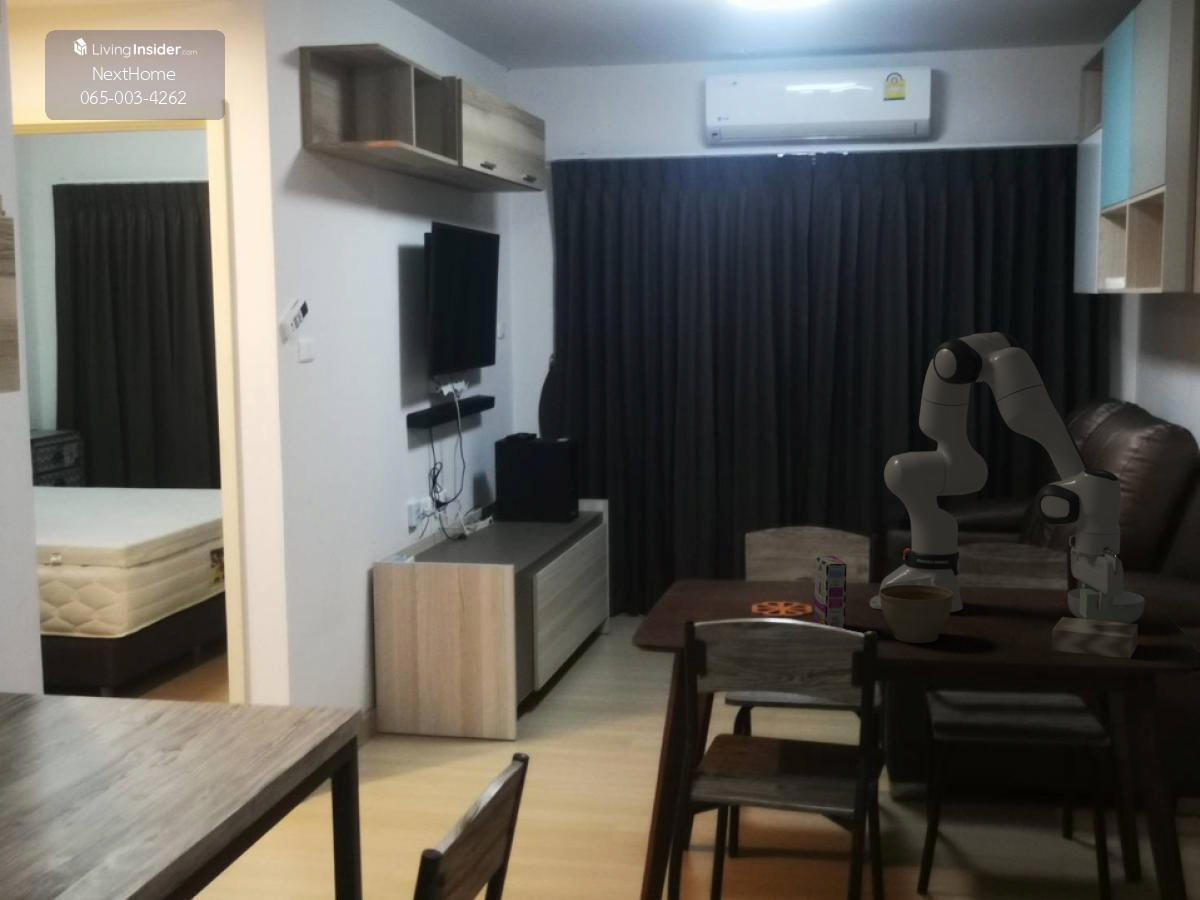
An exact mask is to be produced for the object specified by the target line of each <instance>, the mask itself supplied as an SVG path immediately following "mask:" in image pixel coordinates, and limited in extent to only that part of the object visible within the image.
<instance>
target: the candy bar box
mask: <svg viewBox="0 0 1200 900" xmlns="http://www.w3.org/2000/svg"><path fill="white" fill-rule="evenodd" d="M814 563H815V564H814V565H815V567H814V608H813V609H814V614H813V615H814V617H813V618H814V620H813V623H814V622H817V623H821V624H826V625H831V626H836V627H841V628H845V629H846V605H847V603H846V599H847V598H846V596H847V565H848V564H846V563H845V562H844V561H842V560H841V559H839V558H838V557H837V556H834V555H816V556H815V562H814Z"/></svg>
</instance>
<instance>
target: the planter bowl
mask: <svg viewBox="0 0 1200 900" xmlns="http://www.w3.org/2000/svg"><path fill="white" fill-rule="evenodd" d="M879 591H880V597H881V607H882V609H881V612H882V615H883V617H884V620H885V621H886V623H887V625H888V627H889V628H890V630H892V633H893V636H894V638H895V639H896V640H898V641H899V642H904V643H909V644H927V643H934V642H935V641H937V640H938V638H939V634H940V632H942V630H943V629H944V628H945V626H946V624H947V622H948V620H949V617H950V615H951V613H952V612H951V607H952V599H953V592H952V591H951V590H948V589H946V588H942V587H937V586H930V585H894V586H888V587H884V588H882V589H881V590H880V589H879Z"/></svg>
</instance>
